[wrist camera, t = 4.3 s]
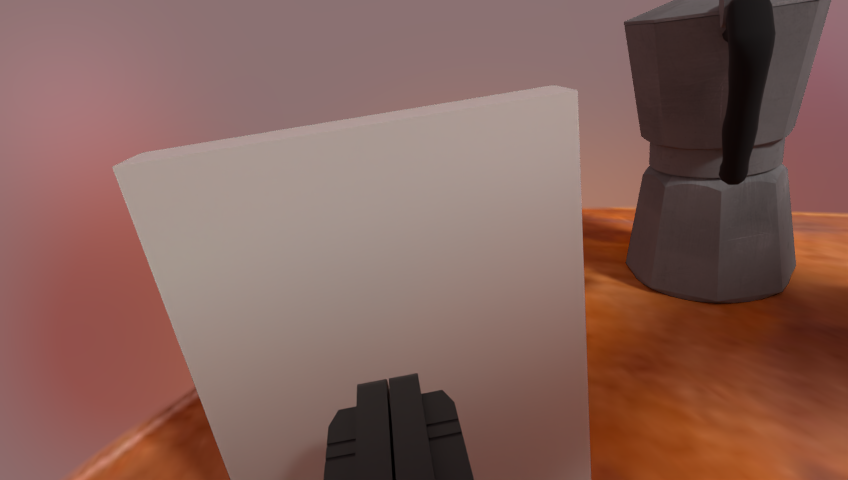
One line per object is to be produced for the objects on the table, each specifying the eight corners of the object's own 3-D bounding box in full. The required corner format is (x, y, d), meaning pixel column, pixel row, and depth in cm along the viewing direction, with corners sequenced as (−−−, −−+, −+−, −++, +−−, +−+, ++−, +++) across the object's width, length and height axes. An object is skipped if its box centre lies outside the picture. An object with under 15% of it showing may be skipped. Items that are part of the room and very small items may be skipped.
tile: (571, 448, 20) (551, 84, 15) (591, 489, 18) (577, 90, 13) (269, 507, 20) (144, 151, 15) (259, 555, 18) (112, 166, 13)
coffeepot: (625, 229, 39) (624, -32, 33) (770, 228, 36) (802, -65, 29) (623, 342, 26) (621, -56, 20) (851, 359, 23) (943, -121, 16)
